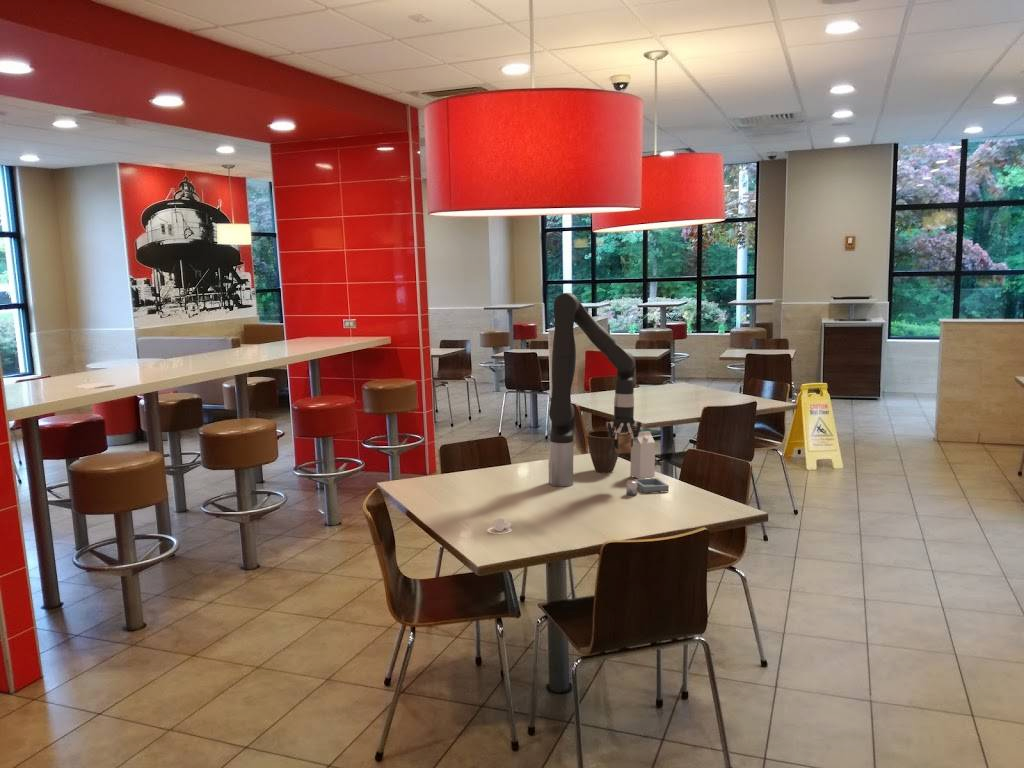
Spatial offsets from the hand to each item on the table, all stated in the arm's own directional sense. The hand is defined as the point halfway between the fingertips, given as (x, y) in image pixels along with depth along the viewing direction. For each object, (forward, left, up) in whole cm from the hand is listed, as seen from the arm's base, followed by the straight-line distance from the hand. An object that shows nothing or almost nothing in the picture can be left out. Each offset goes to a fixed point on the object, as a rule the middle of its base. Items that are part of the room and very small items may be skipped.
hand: (622, 448), depth 319 cm
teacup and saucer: (-53, -46, -16) cm, 73 cm away
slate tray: (+10, -4, -16) cm, 19 cm away
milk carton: (+13, +14, -16) cm, 25 cm away
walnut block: (0, 0, -1) cm, 1 cm away
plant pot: (+1, +28, -16) cm, 32 cm away
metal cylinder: (0, -11, -16) cm, 19 cm away
